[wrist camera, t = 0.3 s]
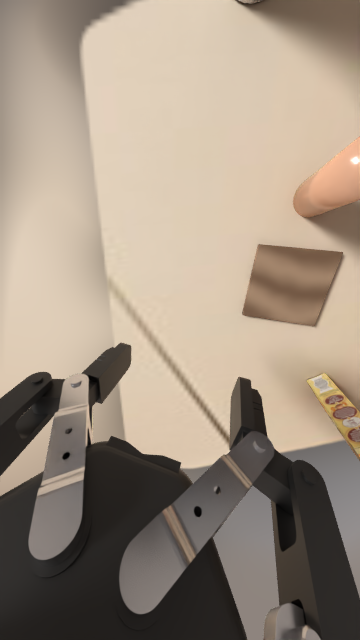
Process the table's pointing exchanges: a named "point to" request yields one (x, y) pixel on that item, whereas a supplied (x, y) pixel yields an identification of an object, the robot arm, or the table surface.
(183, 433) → the table surface
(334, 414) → the candy box
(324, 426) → the table surface
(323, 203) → the orange tan cylinder
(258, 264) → the walnut pad
